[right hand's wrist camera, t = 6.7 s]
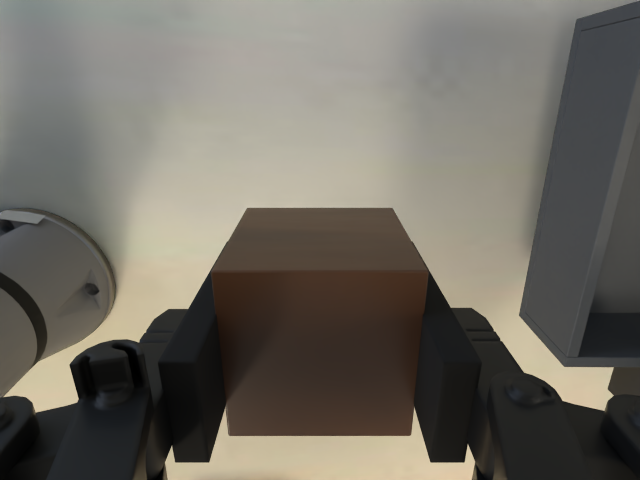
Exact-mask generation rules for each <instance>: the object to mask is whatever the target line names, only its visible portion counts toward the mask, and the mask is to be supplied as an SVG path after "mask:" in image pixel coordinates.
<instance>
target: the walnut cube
mask: <svg viewBox="0 0 640 480" xmlns="http://www.w3.org/2000/svg"><path fill="white" fill-rule="evenodd" d="M428 274H429V271H428V269H427V268H426V266H425V264H424V262H423V261H422V259H421V257H420V255H419V254H418V252H417V250H416V248H415V247H414V245H413V243H412V241H411V240H410V238H409V236H408V235H407V233H406V231H405V229H404V228H403V226H402V224H401V222H400V221H399V219H398V217H397V215H396V214H395V212H394V210H393V208H247V209H246V211H245V213H244V215H243V216H242V218H241V220H240V222H239V223H238V225H237V227H236V229H235V230H234V232H233V234H232V236H231V237H230V239H229V241H228V243H227V244H226V246H225V248H224V250H223V251H222V253H221V255H220V257H219V258H218V260H217V262H216V264H215V265H214V267H213V269H212V270H211V277H212V287H213V296H214V305H215V314H216V315H217V323H218V332H219V341H220V351H221V360H222V369H223V379H224V388H225V397H226V406H225V407H226V416H227V425H228V434H229V436H410V435H411V431H412V422H413V413H414V394H415V385H416V375H417V366H418V357H419V347H420V338H421V328H422V319H423V314H424V311H425V302H426V293H427V283H428Z"/></svg>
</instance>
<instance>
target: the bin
mask: <svg viewBox="0 0 640 480" xmlns="http://www.w3.org/2000/svg"><path fill="white" fill-rule="evenodd" d="M519 316H520V317H521V318H522V319H523V320H524V322H525V323H526V324H527V325H528V326H529V327H530V329H531V330H532V331H533V332H534V333H535V334H536V335H537V336H538V338H539V339H540V340H541V341H542V342H543V343H544V344H545V345H546V347H547V348H548V349H549V350H550V351H551V352H552V353H553V355H554V356H555V357H556V358H557V359H558V360H559V361H560V362H561V364H562V365H563V366H564V367H614V369H613V373H612V376H611V379H610V383H609V386H608V390H609V391H610V392H611V393H612V394H613V395H614V396H616V395H622V394H629V395H636V396H640V1H637V2H634V3H631V4H627V5H624V6H620V7H617V8H613V9H610V10H607V11H603V12H600V13H596V14H593V15H589V16H586V17H583V18H579V19H577V20H576V24H575V29H574V34H573V40H572V45H571V50H570V55H569V60H568V65H567V71H566V76H565V81H564V86H563V91H562V96H561V102H560V107H559V112H558V117H557V122H556V127H555V132H554V138H553V143H552V148H551V153H550V158H549V163H548V169H547V174H546V179H545V184H544V189H543V194H542V200H541V205H540V210H539V215H538V220H537V225H536V231H535V236H534V241H533V246H532V251H531V256H530V261H529V267H528V272H527V277H526V282H525V287H524V292H523V298H522V303H521V308H520V313H519Z"/></svg>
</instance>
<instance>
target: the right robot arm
mask: <svg viewBox="0 0 640 480" xmlns="http://www.w3.org/2000/svg"><path fill="white" fill-rule="evenodd" d="M227 243H228V242H227ZM227 243H226V244H227ZM412 243H413V242H412ZM413 245H414V243H413ZM225 246H226V245H225ZM225 246H224V248H225ZM414 247H415V245H414ZM224 248H223V250H224ZM415 248H416V247H415ZM223 250H222V251H223ZM416 250H417V249H416ZM417 252H418V250H417ZM221 253H222V252H221ZM221 253H220V255H221ZM418 254H419V252H418ZM220 255H219V257H220ZM419 255H420V254H419ZM219 257H218V258H219ZM420 257H421V256H420ZM218 258H217V260H218ZM421 259H422V257H421ZM217 260H216V262H217ZM422 261H423V259H422ZM216 262H215V264H216ZM423 262H424V261H423ZM215 264H214V265H215ZM424 264H425V262H424ZM214 265H213V267H214ZM425 266H426V264H425ZM213 267H212V269H213ZM426 268H427V266H426ZM212 269H211V270H212ZM427 269H428V268H427ZM428 271H429V269H428ZM114 297H115V282H114V277H113V273H112V270H111V267H110V265H109V263H108V260H107V258H106V257H105V255H104V253H103V252H102V251H101V249H100V248H99V246H98V245H97V244H96V243H95V242H94V241H93V240H92V239H91V238H90V237H89V236H88V235H87V234H86V233H85V232H84V231H83V230H81V229H80V228H78V227H77V226H76V225H74V224H72V223H71V222H69V221H67V220H65V219H63V218H61V217H59V216H57V215H54V214H51V213H48V212H45V211H41V210H35V209H24V208H21V209H10V210H4V211H1V212H0V480H168V479H167V472H166V466H165V461H166V458H167V456H168V453H169V451H170V448H171V446H172V447H173V452H174V458H175V462H209V461H210V458H211V454H212V451H213V447H214V444H215V440H216V437H217V433H218V430H219V427H220V423H221V420H222V416H223V413H224V409H225V406H226V397H225V388H224V379H223V369H222V360H221V351H220V341H219V332H218V323H217V315H216V314H215V305H214V296H213V287H212V277H211V271H210V272H209V274H208V276H207V278H206V279H205V281H204V283H203V284H202V286H201V288H200V290H199V291H198V293H197V295H196V297H195V298H194V300H193V302H192V304H191V305H190V307H189V309H168V310H167V311H165V312H164V313H162V314H161V315H160V316H158V317H157V318H155V319H154V320H153V322H152V323H151V325H150V326H149V328H148V329H147V330H146V333H144V335H143V336H142V338H141V339H140V343H138V342H135V341H131V340H127V339H126V340H112V341H107V342H103V343H100V344H97V345H95V346H93V347H90V348H88V349H86V350H85V351H83V352H82V353H81V354H79V355H78V356H76V357H75V359H74V360H73V361H72V362H71V364H70V368H71V372H72V376H73V379H74V383H75V387H76V390H77V394H78V397H79V400H78V403H75V404H71V405H68V406H64V407H59V408H55V409H50V410H46V411H42V412H37V413H35V410H34V407H33V404H32V402H31V401H30V400H28V399H27V398H26V397H19V396H10V397H3V396H4V395H5V394H6V393H7V392H8V391H9V390H10V389H11V388H12V387H13V386H14V385H15V384H16V383H17V382H18V381H19V380H20V379H21V378H22V377H23V376H24V375H25V374H26V373H27V372H28V371H29V370H30V369H31V368H32V367H33V366H34V365H35V364H36V363H37V362H38V361H40V360H42V359H44V358H46V357H48V356H51V355H53V354H55V353H57V352H59V351H61V350H63V349H65V348H67V347H70V346H72V345H74V344H76V343H78V342H80V341H81V340H83V339H84V338H86V337H87V336H88V335H90V334H91V333H92V332H94V331H95V330H96V329H97V328H98V327H99V325H100V324H101V323H102V322H103V321H104V320H105V319H106V317H107V316H108V314H109V313H110V310H111V308H112V305H113V302H114ZM414 407H415V410H416V414H417V417H418V421H419V424H420V428H421V431H422V435H423V438H424V441H425V445H426V448H427V452H428V455H429V459H430V462H465V456H466V451H467V445H469V447H470V450H471V452H472V455H473V457H474V459H475V466H474V472H473V477H472V480H640V396H636V395H629V394H622V395H616V396H613V397H612V398H611V399H610V400H608V402H607V405H606V408H605V411H602V410H597V409H593V408H588V407H584V406H579V405H575V404H571V403H568V402H564V401H562V399H561V398H560V396H559V395H558V393H557V392H556V390H555V389H554V388H553V387H551V386H550V385H549V384H547V383H546V382H545V381H543V380H541V379H539V378H537V377H535V376H533V375H530V374H526V373H524V372H523V371H522V369H521V368H520V366H519V365H518V364H517V362H516V361H515V359H514V358H513V356H512V355H511V354H510V352H509V351H508V349H507V348H506V346H505V345H504V344H503V342H502V341H500V338H499V336H498V335H497V334H496V332H494V331H493V328H492V326H491V325H490V324H489V322H488V321H487V319H486V318H485V317H484V316H482V315H481V314H479V313H478V312H476V311H475V310H474V309H472V308H450V306H449V304H448V302H447V301H446V299H445V297H444V295H443V294H442V292H441V290H440V289H439V287H438V285H437V283H436V282H435V280H434V278H433V276H432V275H431V273H430V271H429V274H428V283H427V293H426V302H425V311H424V314H423V319H422V328H421V338H420V347H419V357H418V366H417V375H416V385H415V394H414Z"/></svg>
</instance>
